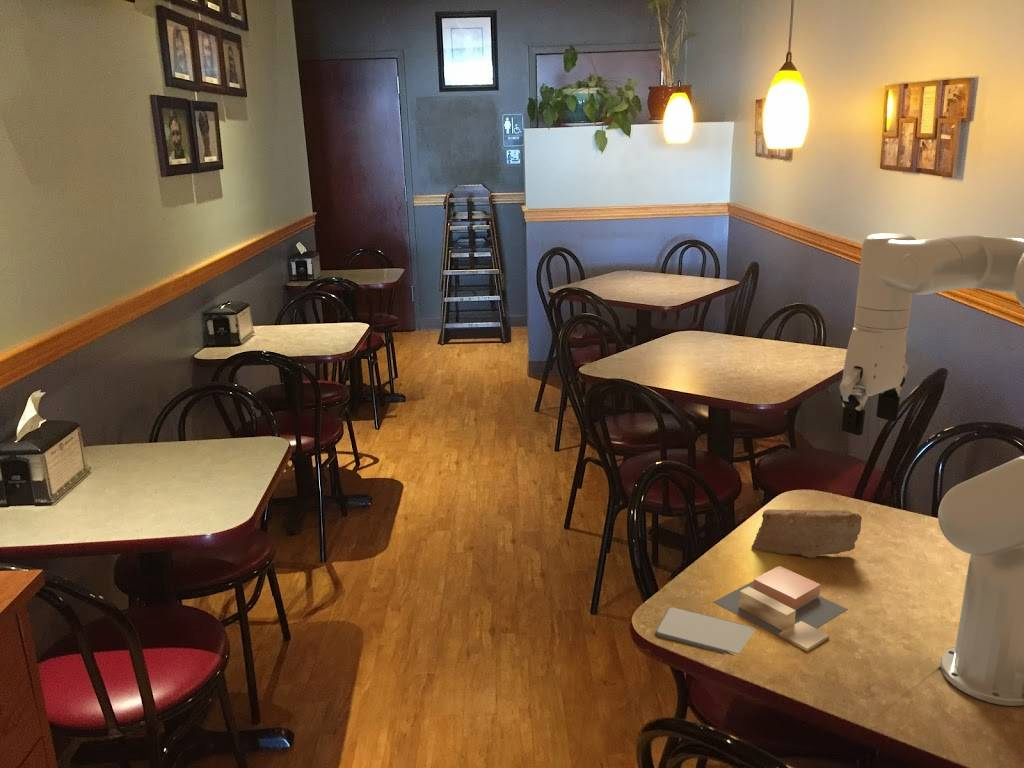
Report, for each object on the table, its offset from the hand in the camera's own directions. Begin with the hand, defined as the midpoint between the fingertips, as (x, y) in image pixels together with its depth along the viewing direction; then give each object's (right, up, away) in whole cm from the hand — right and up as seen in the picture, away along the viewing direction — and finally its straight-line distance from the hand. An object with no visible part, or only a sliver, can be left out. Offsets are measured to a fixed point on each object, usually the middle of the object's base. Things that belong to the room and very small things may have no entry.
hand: (869, 425), depth 130 cm
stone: (-2, -25, +23) cm, 34 cm away
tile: (-8, -28, +6) cm, 30 cm away
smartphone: (-25, -33, 0) cm, 41 cm away
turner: (-14, -31, +1) cm, 34 cm away
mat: (-12, -30, +6) cm, 33 cm away
